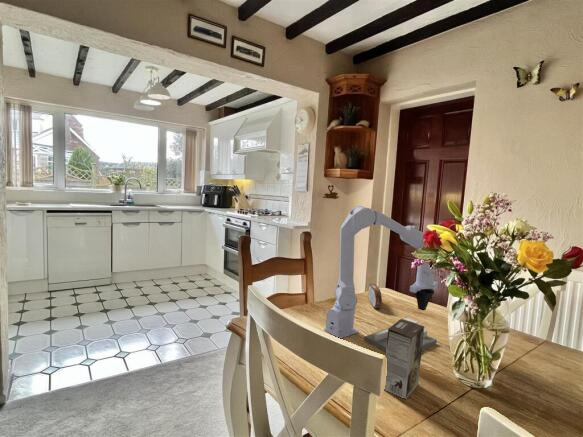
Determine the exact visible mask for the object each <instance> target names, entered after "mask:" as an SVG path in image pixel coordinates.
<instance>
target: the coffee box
mask: <svg viewBox="0 0 583 437" xmlns="http://www.w3.org/2000/svg"><path fill="white" fill-rule="evenodd" d="M404 319H405V318H400V319H398V321H396V322H394V324H392V325H391V326H389V327H388V328H389V329H388V328H387V329H388V337H387V347H386V352H385V357H386V358H387V376H386V385H385V390H384V391H386V390H387V391H389V392H388V393H390V392H391V393H390V394H392V393H393V394H392V395H394V394H396V395H398V396H400V397H403V398H405V399H406V400H408V398H409V397H410V396H409V395H411V394H412V393H413V391H414V390H416V388H417V386H418V385H419V383H420V382H419V381H420V380H419V379H420V370H421V361H422V355H423V354H422V353H423V350H422V344H423V334H424V330H425V326H424V325H422V324H419V323H418V324H416V323H413V322H411V321H407V320H404ZM387 391H386V392H387ZM396 395H395V396H396ZM398 396H397V397H398ZM400 397H399V398H400Z"/></svg>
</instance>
